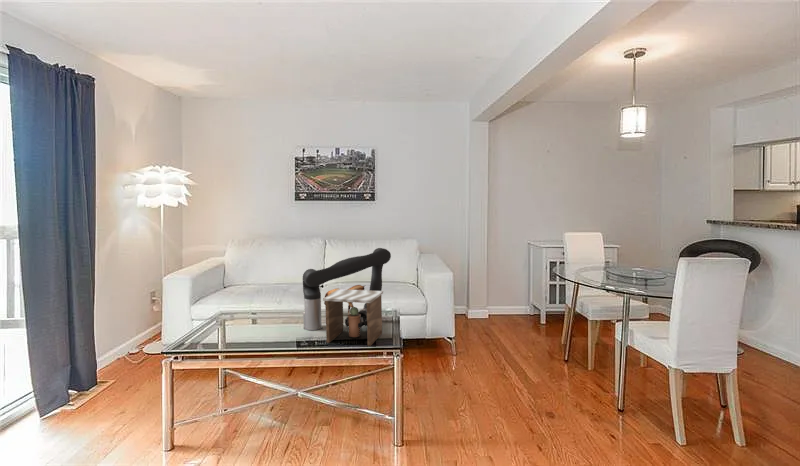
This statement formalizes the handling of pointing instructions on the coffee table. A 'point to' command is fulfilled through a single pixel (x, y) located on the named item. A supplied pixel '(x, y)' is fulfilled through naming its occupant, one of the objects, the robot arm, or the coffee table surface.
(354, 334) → the pot
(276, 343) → the coffee table surface
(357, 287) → the horse figurine
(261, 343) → the coffee table surface
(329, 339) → the side table
